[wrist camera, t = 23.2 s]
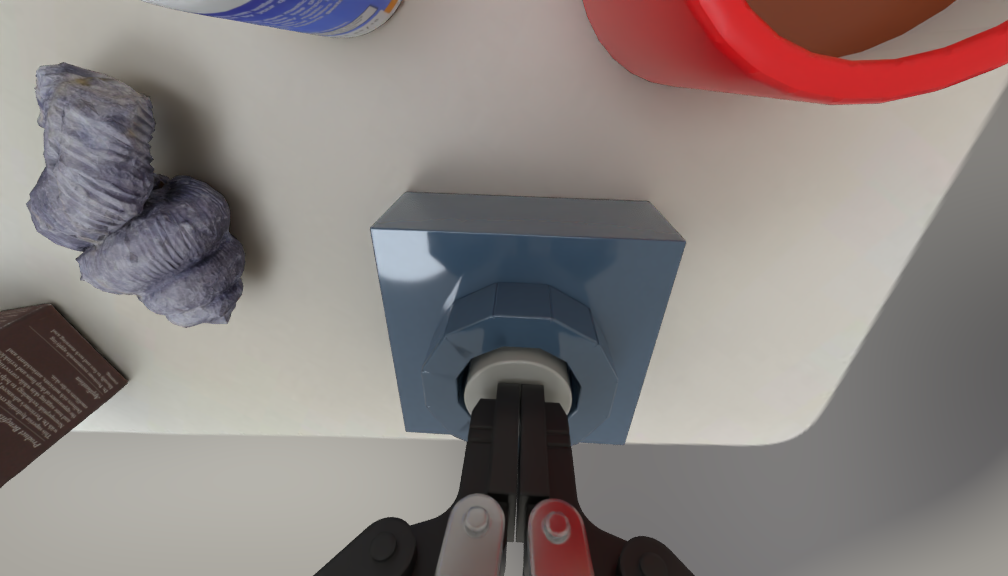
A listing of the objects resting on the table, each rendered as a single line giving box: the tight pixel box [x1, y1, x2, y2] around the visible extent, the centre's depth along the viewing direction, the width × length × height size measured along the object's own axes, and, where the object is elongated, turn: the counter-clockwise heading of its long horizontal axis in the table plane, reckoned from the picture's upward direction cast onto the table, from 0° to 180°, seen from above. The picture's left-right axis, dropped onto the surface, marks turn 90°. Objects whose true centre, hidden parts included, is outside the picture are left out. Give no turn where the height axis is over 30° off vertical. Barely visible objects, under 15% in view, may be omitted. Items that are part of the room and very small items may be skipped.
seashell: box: [26, 62, 245, 328], centre depth 14 cm, size 5×5×10 cm
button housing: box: [370, 192, 686, 446], centre depth 15 cm, size 10×10×6 cm
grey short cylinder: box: [464, 347, 572, 436], centre depth 13 cm, size 4×4×2 cm
